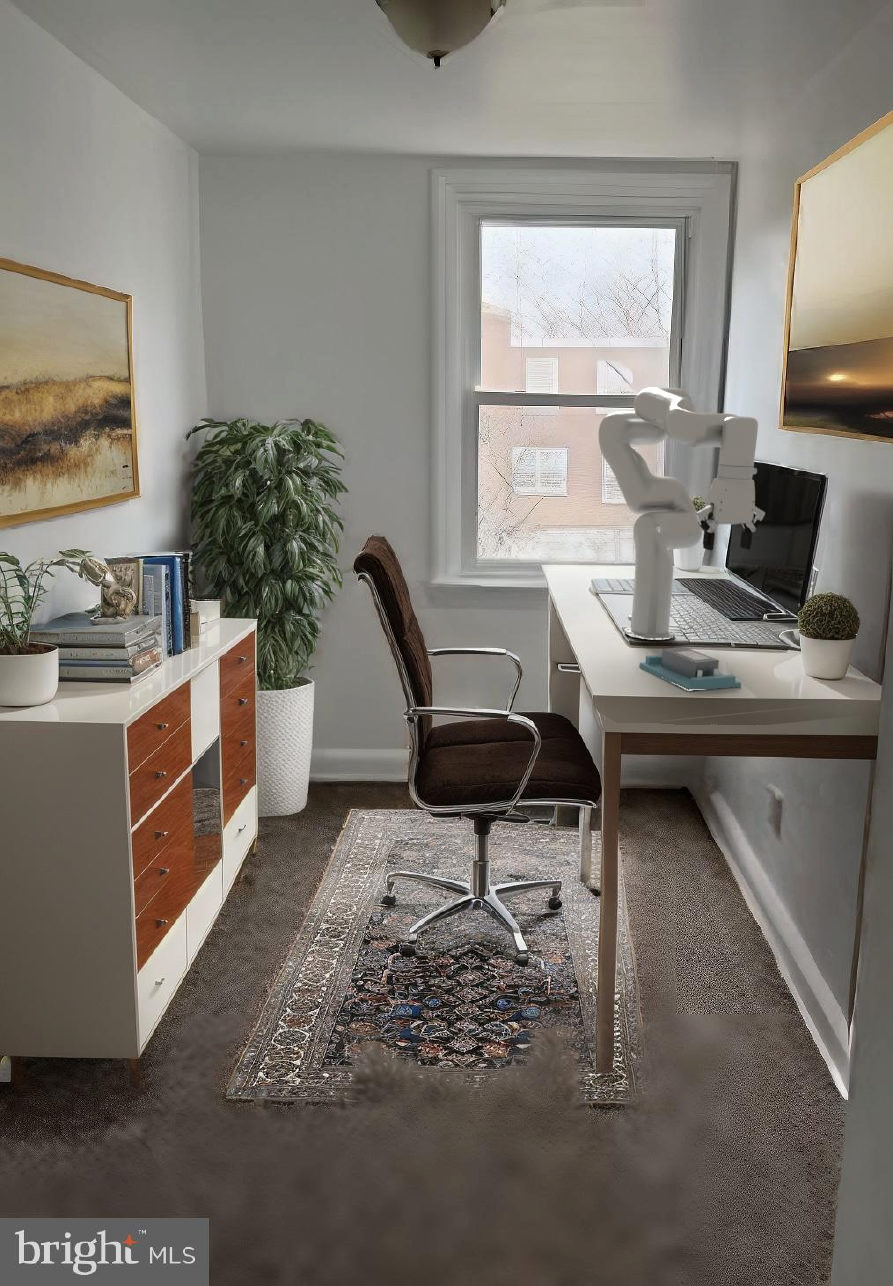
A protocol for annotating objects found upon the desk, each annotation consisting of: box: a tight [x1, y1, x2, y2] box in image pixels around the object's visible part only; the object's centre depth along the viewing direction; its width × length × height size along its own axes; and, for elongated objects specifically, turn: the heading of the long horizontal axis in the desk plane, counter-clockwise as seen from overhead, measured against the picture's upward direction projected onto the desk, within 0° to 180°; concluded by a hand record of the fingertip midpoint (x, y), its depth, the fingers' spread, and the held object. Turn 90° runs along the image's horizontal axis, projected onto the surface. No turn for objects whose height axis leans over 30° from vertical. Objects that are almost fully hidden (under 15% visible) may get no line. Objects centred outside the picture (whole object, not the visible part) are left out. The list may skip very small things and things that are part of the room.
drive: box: [661, 646, 720, 679], centre depth 227 cm, size 12×6×4 cm, turn 25°
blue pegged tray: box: [639, 654, 742, 690], centre depth 228 cm, size 20×13×4 cm, turn 20°
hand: (726, 548), depth 236 cm, fingers open, 9 cm apart
